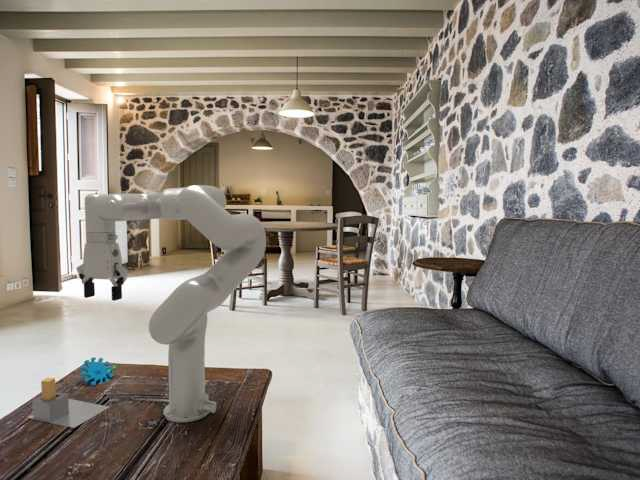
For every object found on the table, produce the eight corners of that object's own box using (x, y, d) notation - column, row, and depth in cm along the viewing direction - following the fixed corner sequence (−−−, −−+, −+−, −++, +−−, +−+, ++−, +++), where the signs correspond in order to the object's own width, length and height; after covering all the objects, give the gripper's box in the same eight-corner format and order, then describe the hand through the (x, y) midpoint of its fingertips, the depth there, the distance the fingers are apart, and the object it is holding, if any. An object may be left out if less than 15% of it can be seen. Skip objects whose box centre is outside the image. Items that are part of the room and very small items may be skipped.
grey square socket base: (110, 409, 124) (109, 389, 124) (74, 430, 113) (73, 408, 112) (65, 400, 129) (64, 381, 129) (26, 420, 118) (25, 399, 117)
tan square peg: (56, 414, 119) (55, 378, 119) (50, 418, 117) (48, 381, 116) (49, 413, 120) (47, 377, 119) (42, 417, 118) (41, 380, 117)
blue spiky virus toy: (86, 386, 135) (78, 358, 139) (78, 396, 137) (70, 368, 142) (121, 380, 144) (112, 353, 148) (113, 390, 146) (105, 363, 151)
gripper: (135, 238, 126) (137, 297, 128) (87, 235, 131) (89, 293, 133) (116, 240, 119) (118, 303, 121) (65, 238, 124) (68, 298, 126)
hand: (103, 298), depth 127 cm, fingers open, 9 cm apart
